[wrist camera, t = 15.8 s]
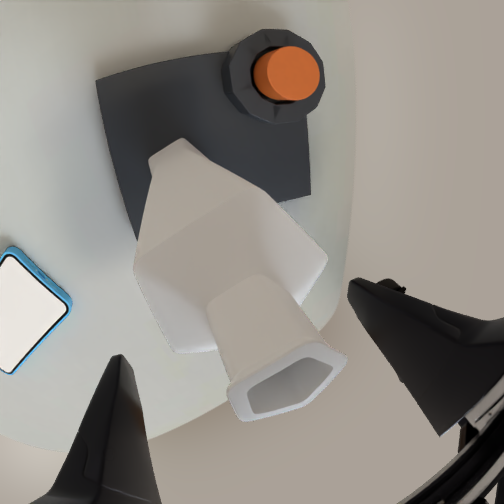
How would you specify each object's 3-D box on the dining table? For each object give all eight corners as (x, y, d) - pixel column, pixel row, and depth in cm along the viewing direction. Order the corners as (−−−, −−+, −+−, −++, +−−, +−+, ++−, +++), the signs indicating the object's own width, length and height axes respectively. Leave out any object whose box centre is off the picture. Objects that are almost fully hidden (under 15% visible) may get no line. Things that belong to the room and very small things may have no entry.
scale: (296, 39, 15) (319, 31, 13) (309, 189, 22) (330, 201, 19) (96, 67, 12) (86, 60, 9) (137, 234, 18) (137, 255, 16)
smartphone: (75, 308, 18) (10, 377, 18) (77, 299, 19) (12, 369, 19) (8, 246, 14) (-41, 337, 14) (13, 239, 15) (-38, 329, 15)
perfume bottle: (126, 178, 15) (92, 429, 3) (173, 122, 15) (305, 208, 2) (181, 218, 18) (270, 449, 6) (226, 168, 17) (410, 339, 5)
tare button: (299, 51, 13) (317, 47, 12) (304, 98, 15) (322, 99, 13) (249, 52, 13) (263, 45, 11) (256, 102, 14) (270, 102, 13)
